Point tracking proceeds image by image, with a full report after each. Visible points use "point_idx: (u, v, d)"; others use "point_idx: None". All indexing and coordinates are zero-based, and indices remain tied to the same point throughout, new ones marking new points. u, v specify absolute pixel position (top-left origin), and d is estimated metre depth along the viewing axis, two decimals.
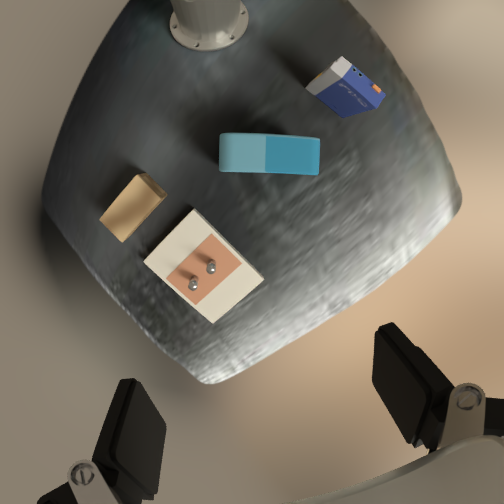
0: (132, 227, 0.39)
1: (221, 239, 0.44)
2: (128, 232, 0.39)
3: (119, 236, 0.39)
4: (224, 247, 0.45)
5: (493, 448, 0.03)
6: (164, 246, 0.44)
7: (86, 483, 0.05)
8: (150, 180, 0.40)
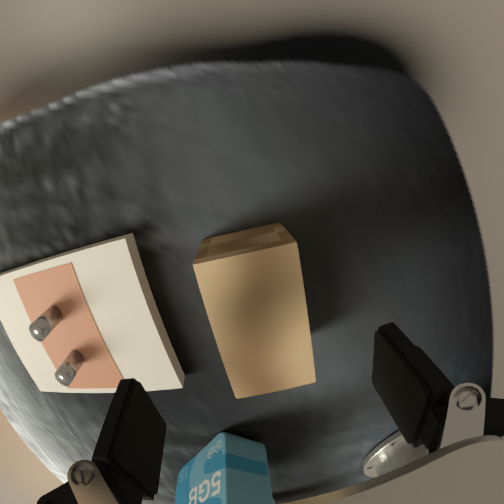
0: (213, 317, 0.14)
1: (113, 390, 0.20)
2: (207, 300, 0.14)
3: (211, 269, 0.14)
4: (98, 386, 0.19)
5: (493, 448, 0.03)
6: (136, 306, 0.18)
7: (86, 483, 0.05)
8: None
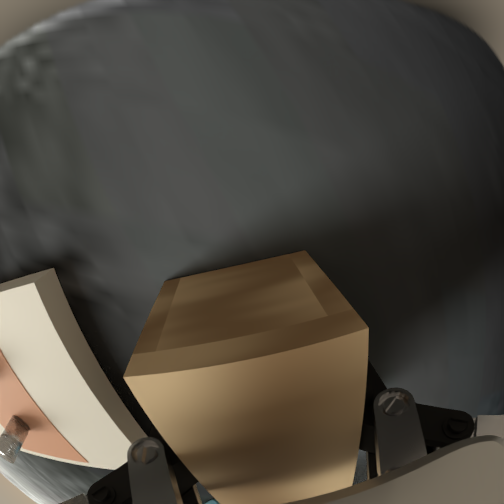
0: (184, 451, 0.06)
1: (72, 462, 0.11)
2: (167, 432, 0.06)
3: (164, 388, 0.05)
4: (54, 454, 0.11)
5: (493, 448, 0.03)
6: (71, 382, 0.09)
7: (146, 462, 0.06)
8: None
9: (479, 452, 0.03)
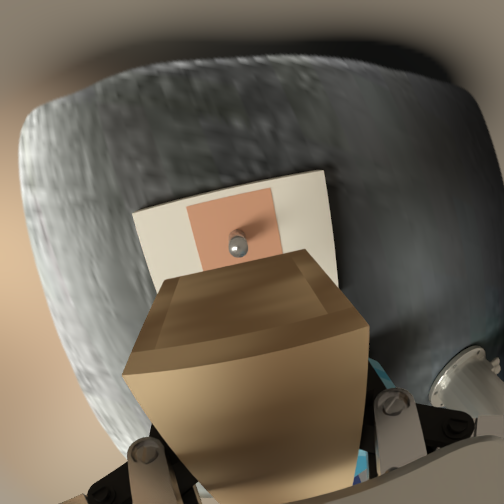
0: (183, 451, 0.06)
1: None
2: (166, 431, 0.06)
3: (163, 387, 0.05)
4: None
5: (493, 448, 0.03)
6: (322, 225, 0.24)
7: (146, 462, 0.06)
8: None
9: (479, 452, 0.03)
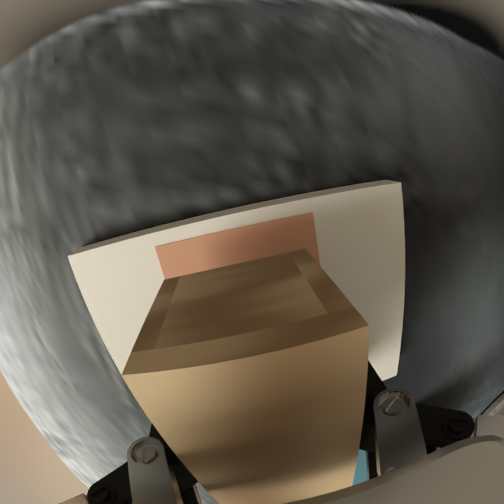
0: (183, 451, 0.06)
1: None
2: (166, 430, 0.06)
3: (163, 386, 0.05)
4: None
5: (493, 448, 0.03)
6: (392, 274, 0.13)
7: (146, 462, 0.06)
8: None
9: (479, 452, 0.03)
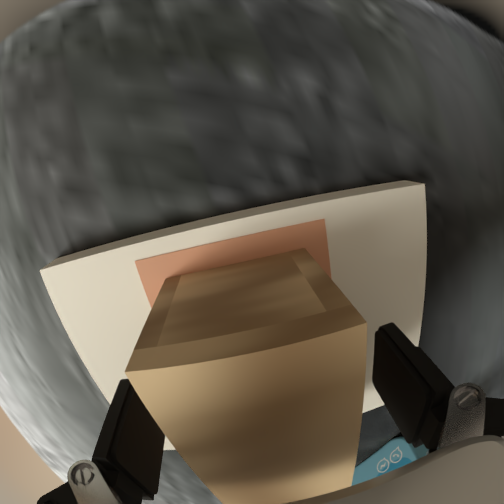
0: (184, 447, 0.06)
1: None
2: (168, 427, 0.06)
3: (166, 383, 0.05)
4: None
5: (493, 448, 0.03)
6: (411, 289, 0.11)
7: (86, 483, 0.05)
8: None
9: (479, 452, 0.03)
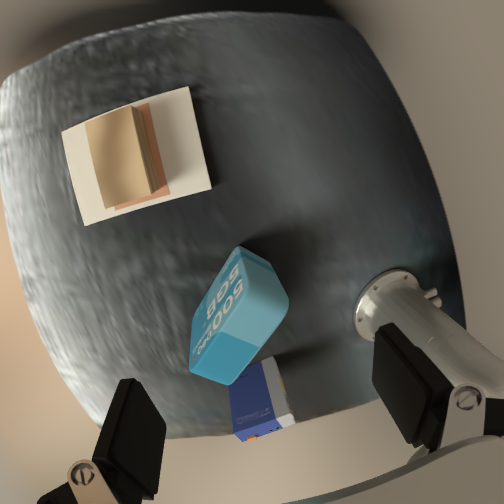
0: (92, 149, 0.23)
1: (156, 201, 0.30)
2: (89, 140, 0.22)
3: (91, 123, 0.22)
4: (144, 200, 0.30)
5: (493, 448, 0.03)
6: (189, 125, 0.28)
7: (86, 483, 0.05)
8: None
9: (479, 452, 0.03)
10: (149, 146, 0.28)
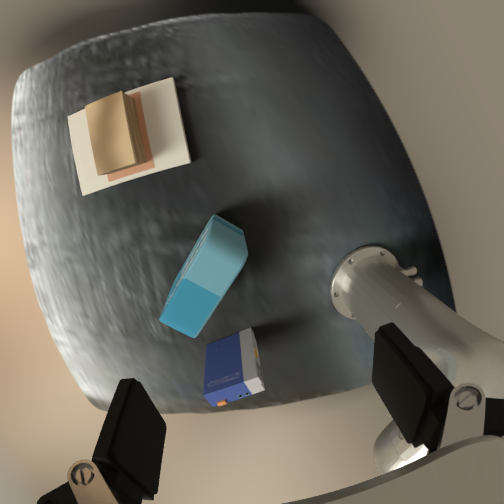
0: (90, 127, 0.27)
1: (143, 174, 0.34)
2: (88, 119, 0.27)
3: (90, 106, 0.26)
4: (133, 172, 0.34)
5: (493, 448, 0.03)
6: (172, 109, 0.32)
7: (86, 483, 0.05)
8: (131, 166, 0.32)
9: (479, 452, 0.03)
10: (138, 127, 0.32)
